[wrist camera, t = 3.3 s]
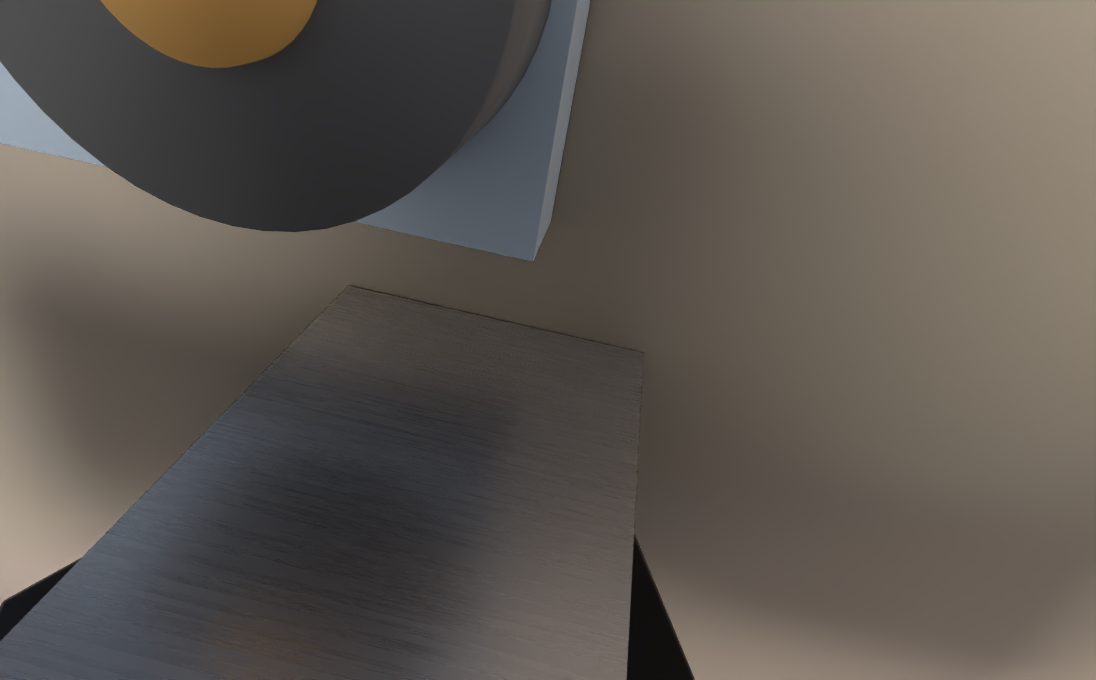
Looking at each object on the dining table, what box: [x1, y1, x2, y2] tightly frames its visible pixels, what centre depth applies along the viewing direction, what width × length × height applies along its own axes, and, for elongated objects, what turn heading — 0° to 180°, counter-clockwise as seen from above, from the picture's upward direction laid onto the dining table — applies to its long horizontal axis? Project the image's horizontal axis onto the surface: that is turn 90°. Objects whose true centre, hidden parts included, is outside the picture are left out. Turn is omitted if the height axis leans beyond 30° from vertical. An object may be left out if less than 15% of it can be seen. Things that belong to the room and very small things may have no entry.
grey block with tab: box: [0, 286, 643, 680], centre depth 7 cm, size 5×4×7 cm
